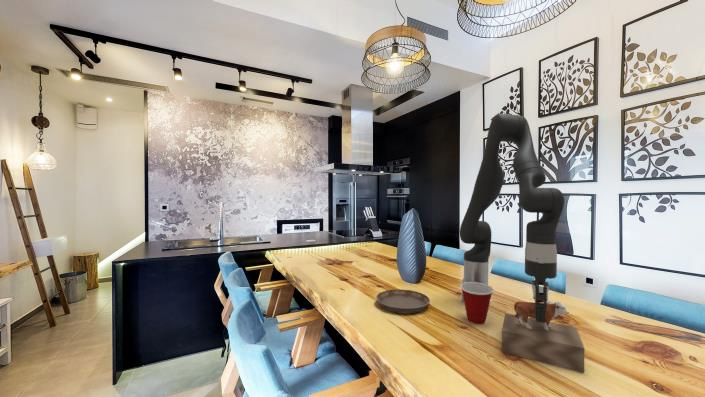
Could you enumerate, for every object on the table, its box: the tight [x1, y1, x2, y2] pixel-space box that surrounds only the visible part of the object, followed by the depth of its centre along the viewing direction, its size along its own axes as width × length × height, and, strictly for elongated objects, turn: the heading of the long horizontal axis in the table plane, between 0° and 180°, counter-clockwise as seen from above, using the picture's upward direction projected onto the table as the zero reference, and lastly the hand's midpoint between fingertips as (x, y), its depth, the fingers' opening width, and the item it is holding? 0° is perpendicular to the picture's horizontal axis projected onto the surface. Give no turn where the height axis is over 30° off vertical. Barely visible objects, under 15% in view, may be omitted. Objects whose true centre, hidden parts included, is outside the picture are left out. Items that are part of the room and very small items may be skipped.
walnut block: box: [501, 313, 586, 374], centre depth 81 cm, size 18×14×6 cm
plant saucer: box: [375, 289, 431, 314], centre depth 114 cm, size 21×21×3 cm
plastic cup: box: [459, 282, 495, 325], centre depth 100 cm, size 11×11×12 cm
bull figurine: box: [513, 300, 570, 331], centre depth 81 cm, size 4×13×8 cm, turn 75°
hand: (539, 316), depth 81 cm, fingers open, 8 cm apart
